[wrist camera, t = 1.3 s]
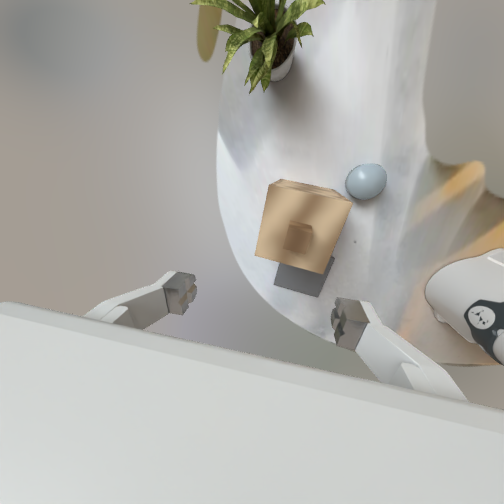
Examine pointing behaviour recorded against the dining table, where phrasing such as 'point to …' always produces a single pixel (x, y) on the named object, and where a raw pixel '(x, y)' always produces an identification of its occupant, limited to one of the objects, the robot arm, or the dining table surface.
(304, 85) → the dining table surface
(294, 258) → the oak cover
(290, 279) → the felt mat
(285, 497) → the robot arm
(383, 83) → the dining table surface
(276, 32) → the house plant
